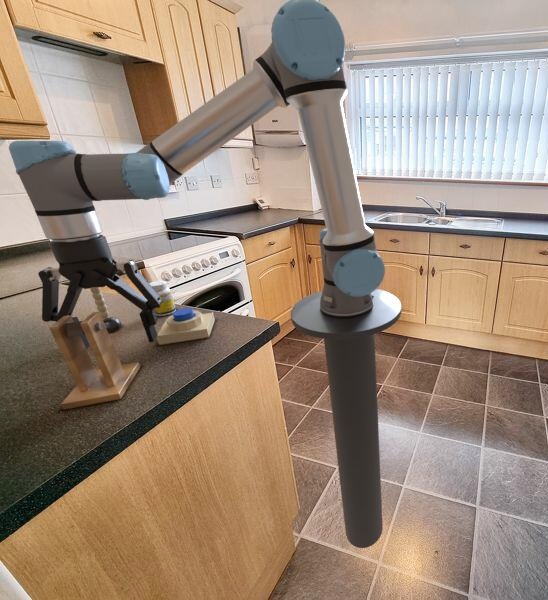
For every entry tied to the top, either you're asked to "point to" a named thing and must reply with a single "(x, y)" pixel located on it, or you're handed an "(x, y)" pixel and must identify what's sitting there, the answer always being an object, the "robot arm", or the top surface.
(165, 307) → the supplement bottle
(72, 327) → the switch lever
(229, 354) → the top surface
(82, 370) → the lever bracket
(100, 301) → the toy lamp
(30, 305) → the top surface
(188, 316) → the switch button
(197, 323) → the button box
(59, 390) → the top surface
